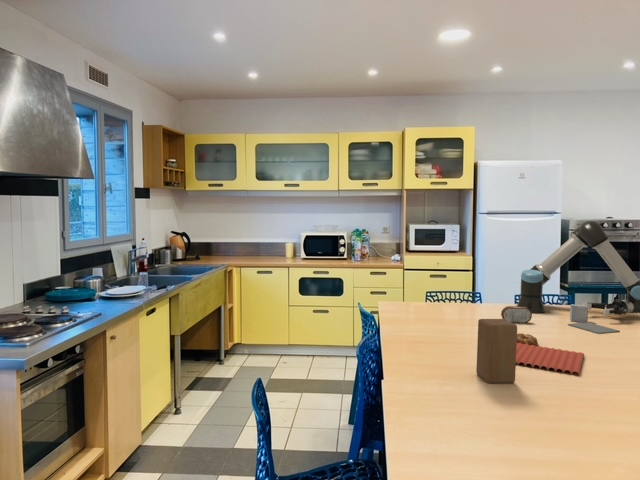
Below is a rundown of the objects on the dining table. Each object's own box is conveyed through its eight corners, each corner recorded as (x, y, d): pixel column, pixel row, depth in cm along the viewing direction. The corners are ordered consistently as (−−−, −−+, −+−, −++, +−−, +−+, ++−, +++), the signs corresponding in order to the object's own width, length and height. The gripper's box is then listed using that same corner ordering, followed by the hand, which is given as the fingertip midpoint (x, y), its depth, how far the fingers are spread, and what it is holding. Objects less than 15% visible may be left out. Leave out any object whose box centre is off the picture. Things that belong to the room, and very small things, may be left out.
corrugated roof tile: (579, 377, 168) (579, 372, 168) (496, 363, 183) (496, 357, 183) (584, 357, 192) (584, 352, 192) (510, 346, 207) (510, 341, 206)
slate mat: (567, 325, 245) (567, 323, 245) (588, 323, 249) (588, 322, 249) (598, 333, 228) (598, 332, 228) (619, 331, 233) (619, 330, 232)
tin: (530, 322, 250) (530, 306, 249) (532, 323, 247) (533, 307, 246) (500, 321, 251) (501, 305, 251) (502, 322, 248) (502, 306, 247)
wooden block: (475, 373, 169) (477, 318, 167) (502, 373, 170) (504, 318, 168) (487, 384, 159) (489, 325, 157) (516, 383, 160) (518, 325, 158)
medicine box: (586, 321, 255) (586, 305, 254) (587, 323, 250) (588, 306, 250) (569, 319, 257) (570, 304, 257) (571, 321, 253) (571, 305, 252)
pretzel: (532, 349, 202) (532, 340, 201) (506, 344, 209) (506, 335, 209) (541, 343, 210) (542, 335, 210) (516, 338, 218) (517, 330, 217)
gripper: (643, 318, 252) (613, 321, 245) (601, 309, 276) (573, 311, 269) (644, 304, 252) (614, 306, 245) (602, 296, 275) (573, 298, 268)
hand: (592, 309), depth 257 cm, fingers open, 13 cm apart
